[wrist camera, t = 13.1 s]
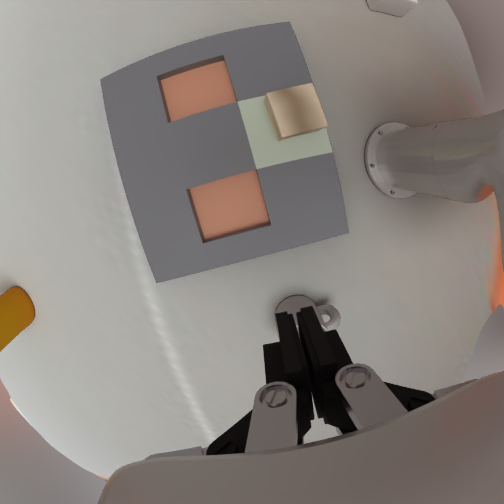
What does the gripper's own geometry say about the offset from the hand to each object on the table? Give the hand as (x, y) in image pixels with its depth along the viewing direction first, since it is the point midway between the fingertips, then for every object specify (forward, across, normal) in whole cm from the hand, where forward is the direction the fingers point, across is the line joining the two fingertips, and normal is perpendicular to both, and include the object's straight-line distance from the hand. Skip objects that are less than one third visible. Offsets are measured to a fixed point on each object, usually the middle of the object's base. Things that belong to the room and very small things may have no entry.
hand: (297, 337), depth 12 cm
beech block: (+28, -7, -14) cm, 32 cm away
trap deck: (+30, +4, -12) cm, 33 cm away
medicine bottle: (+31, -31, -38) cm, 58 cm away
